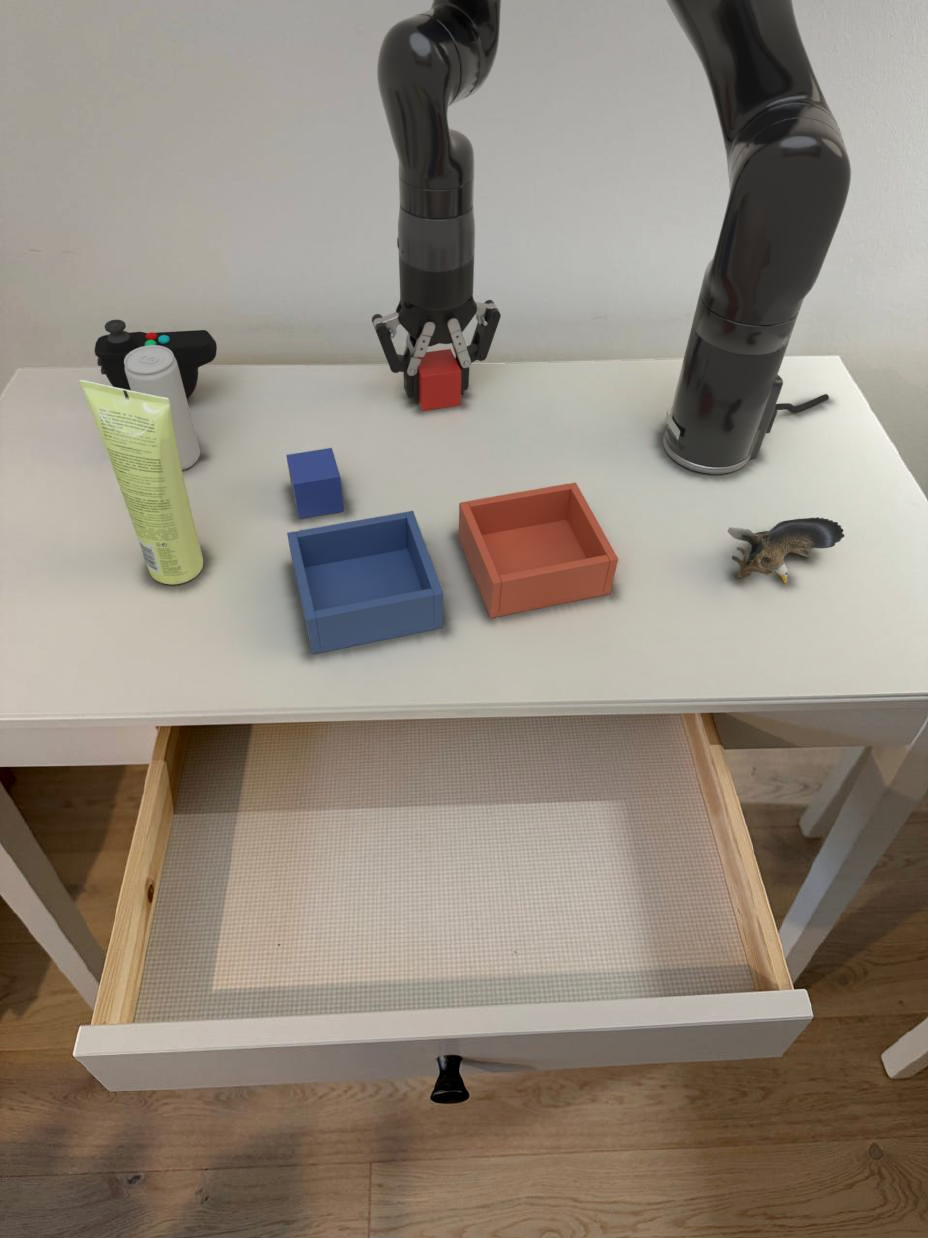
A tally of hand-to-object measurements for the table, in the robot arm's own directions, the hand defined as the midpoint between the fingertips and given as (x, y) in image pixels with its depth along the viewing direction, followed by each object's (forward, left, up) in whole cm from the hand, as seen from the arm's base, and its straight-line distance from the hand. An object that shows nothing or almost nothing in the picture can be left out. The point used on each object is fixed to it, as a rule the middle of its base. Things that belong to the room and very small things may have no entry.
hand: (436, 394), depth 99 cm
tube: (+30, +20, -1) cm, 36 cm away
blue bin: (+14, +28, 0) cm, 31 cm away
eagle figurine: (-24, +34, -1) cm, 42 cm away
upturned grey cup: (+29, +4, -1) cm, 29 cm away
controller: (+29, -6, -1) cm, 30 cm away
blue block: (+16, +14, 0) cm, 21 cm away
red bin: (-2, +28, 0) cm, 28 cm away
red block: (0, 0, 0) cm, 0 cm away
